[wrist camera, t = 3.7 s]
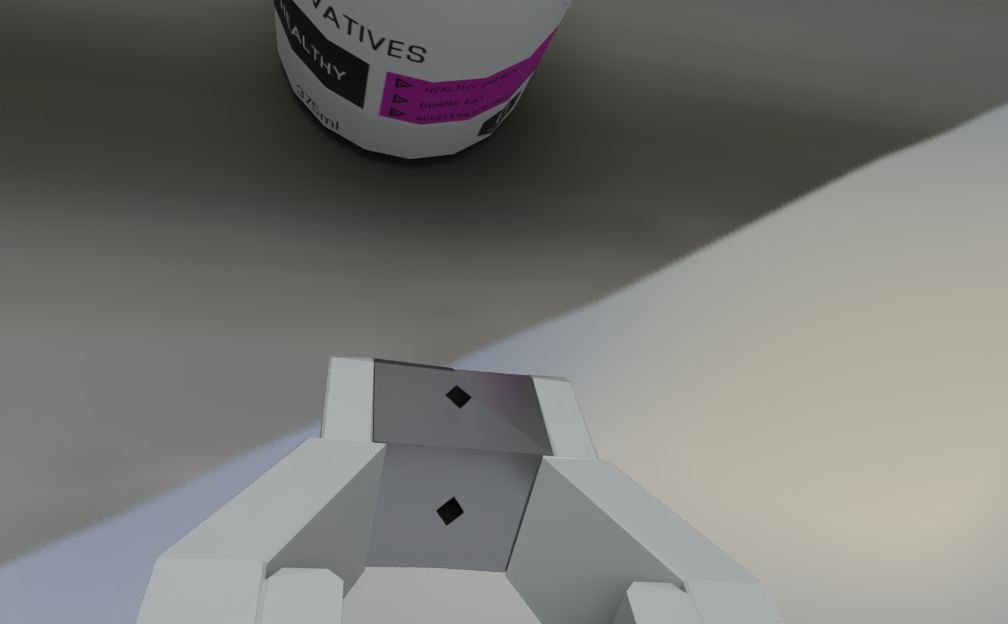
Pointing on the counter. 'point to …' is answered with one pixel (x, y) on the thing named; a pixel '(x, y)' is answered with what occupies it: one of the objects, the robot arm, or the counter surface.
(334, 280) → the counter surface
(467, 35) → the supplement can
